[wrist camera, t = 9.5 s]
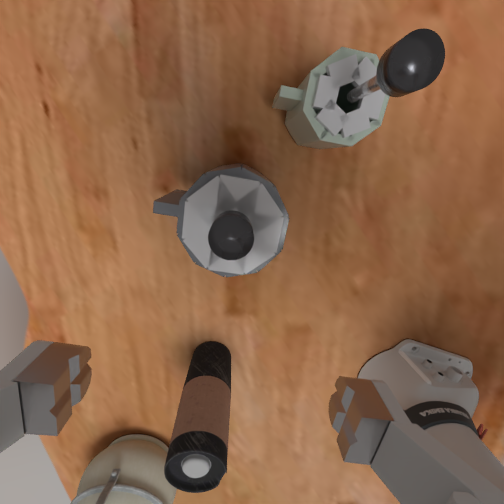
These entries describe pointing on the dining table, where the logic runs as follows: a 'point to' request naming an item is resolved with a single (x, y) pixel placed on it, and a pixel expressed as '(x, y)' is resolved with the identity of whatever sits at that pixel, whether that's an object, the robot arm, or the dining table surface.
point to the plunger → (231, 235)
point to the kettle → (127, 474)
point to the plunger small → (405, 66)
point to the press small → (333, 102)
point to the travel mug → (202, 422)
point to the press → (224, 199)
